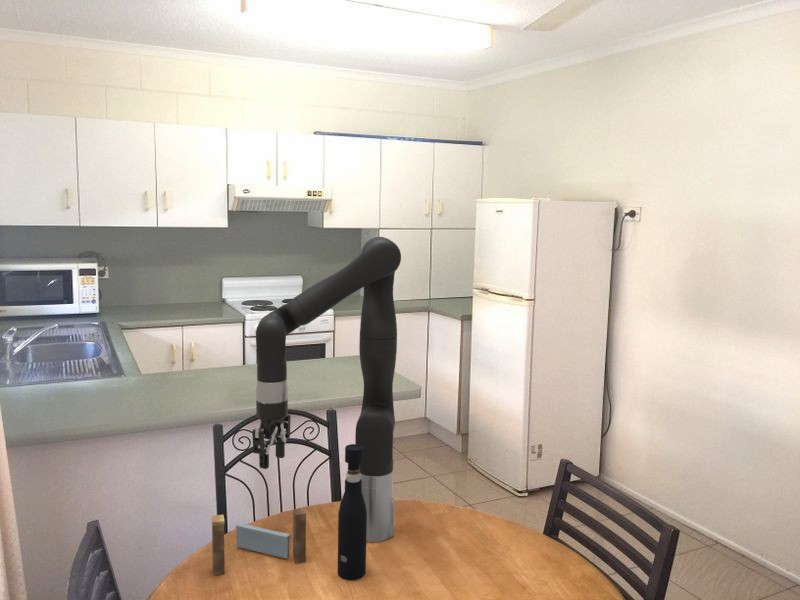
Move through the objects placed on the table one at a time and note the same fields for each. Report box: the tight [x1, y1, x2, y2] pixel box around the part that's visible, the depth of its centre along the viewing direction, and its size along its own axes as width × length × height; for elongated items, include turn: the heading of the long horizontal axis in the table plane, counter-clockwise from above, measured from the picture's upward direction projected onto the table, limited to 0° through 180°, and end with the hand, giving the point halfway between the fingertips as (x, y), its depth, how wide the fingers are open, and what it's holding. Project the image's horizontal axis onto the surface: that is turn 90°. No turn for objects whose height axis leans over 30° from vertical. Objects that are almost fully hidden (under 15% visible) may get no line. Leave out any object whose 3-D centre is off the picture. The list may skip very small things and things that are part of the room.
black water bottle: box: [337, 443, 367, 581], centre depth 152 cm, size 6×6×30 cm
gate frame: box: [210, 507, 307, 577], centre depth 155 cm, size 21×3×13 cm, turn 109°
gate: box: [235, 522, 291, 560], centre depth 161 cm, size 14×1×6 cm, turn 69°
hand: (272, 462), depth 166 cm, fingers open, 7 cm apart
